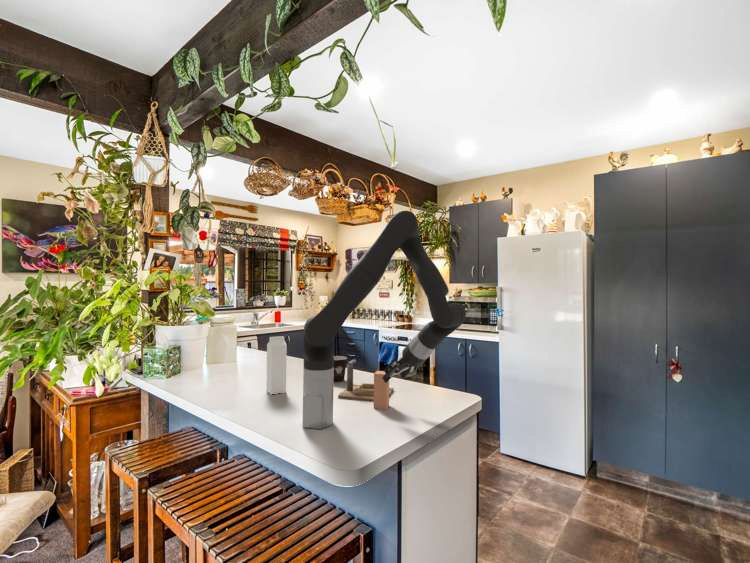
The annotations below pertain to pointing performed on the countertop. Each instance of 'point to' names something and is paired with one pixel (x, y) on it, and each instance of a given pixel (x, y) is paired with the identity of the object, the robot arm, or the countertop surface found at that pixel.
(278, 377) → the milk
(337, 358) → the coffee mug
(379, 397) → the link block
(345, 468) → the countertop surface
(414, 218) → the robot arm
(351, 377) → the pintle seat
